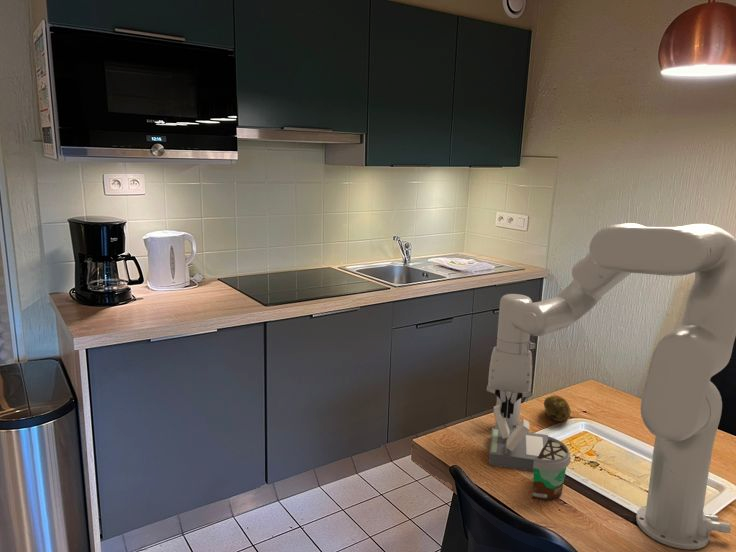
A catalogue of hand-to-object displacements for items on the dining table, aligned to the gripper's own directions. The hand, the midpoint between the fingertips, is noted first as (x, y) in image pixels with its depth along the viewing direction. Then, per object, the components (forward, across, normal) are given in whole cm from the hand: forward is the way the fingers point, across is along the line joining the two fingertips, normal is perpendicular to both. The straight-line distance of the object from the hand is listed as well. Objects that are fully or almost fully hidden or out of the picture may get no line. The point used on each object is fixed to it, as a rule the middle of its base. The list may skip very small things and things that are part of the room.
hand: (506, 415), depth 135 cm
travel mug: (+10, -1, -10) cm, 14 cm away
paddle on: (+6, -1, +1) cm, 6 cm away
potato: (+10, -14, -22) cm, 28 cm away
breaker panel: (+9, -4, +2) cm, 10 cm away
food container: (+9, -11, +16) cm, 21 cm away
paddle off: (+6, -1, +6) cm, 8 cm away
